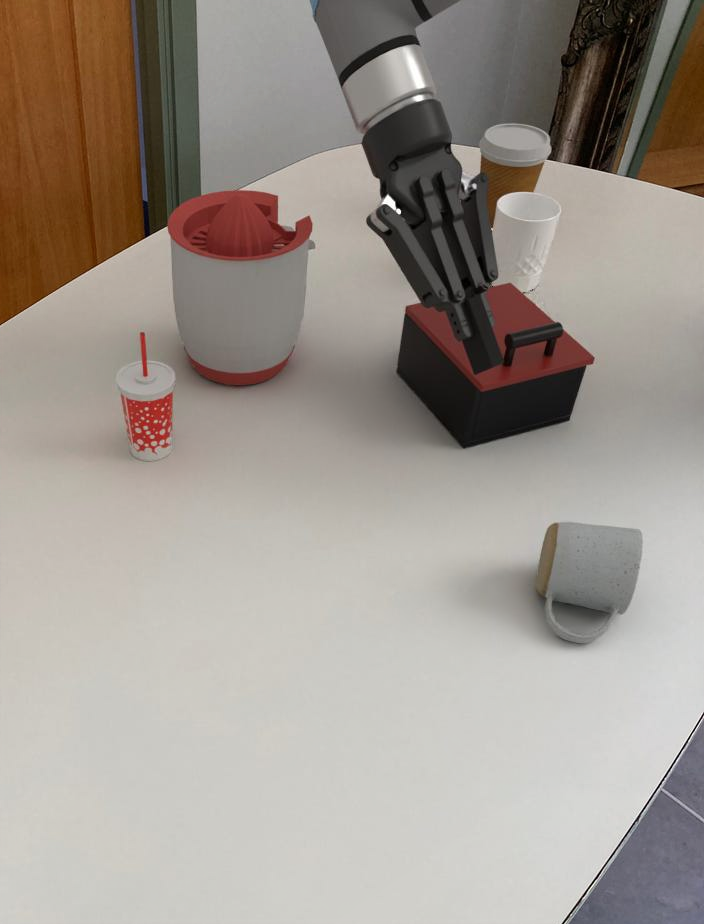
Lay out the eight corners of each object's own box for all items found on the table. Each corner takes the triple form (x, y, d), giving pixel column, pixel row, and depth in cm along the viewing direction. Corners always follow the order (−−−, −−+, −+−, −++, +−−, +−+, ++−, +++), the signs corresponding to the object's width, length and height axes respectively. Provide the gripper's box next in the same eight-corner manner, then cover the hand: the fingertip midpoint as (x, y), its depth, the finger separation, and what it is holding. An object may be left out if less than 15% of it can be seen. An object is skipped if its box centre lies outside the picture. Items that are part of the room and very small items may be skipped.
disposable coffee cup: (539, 215, 142) (560, 128, 133) (524, 245, 137) (545, 156, 128) (474, 203, 145) (490, 117, 136) (457, 232, 139) (472, 144, 130)
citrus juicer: (342, 364, 118) (358, 197, 103) (222, 414, 112) (221, 244, 96) (264, 307, 127) (269, 145, 111) (149, 351, 120) (137, 185, 105)
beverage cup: (190, 450, 107) (185, 335, 97) (144, 473, 105) (134, 358, 94) (156, 423, 111) (149, 310, 100) (111, 445, 108) (98, 330, 97)
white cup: (531, 302, 127) (550, 226, 119) (473, 286, 130) (487, 211, 122) (550, 275, 131) (569, 200, 124) (493, 260, 134) (509, 186, 127)
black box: (569, 420, 110) (588, 360, 105) (463, 449, 107) (476, 387, 101) (495, 348, 120) (509, 289, 114) (395, 372, 117) (404, 312, 111)
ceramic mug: (534, 558, 96) (553, 498, 90) (621, 573, 95) (647, 513, 89) (527, 639, 89) (547, 580, 83) (621, 656, 88) (648, 597, 82)
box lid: (593, 364, 104) (605, 326, 101) (481, 392, 101) (489, 354, 98) (509, 288, 114) (517, 252, 111) (404, 312, 111) (410, 275, 108)
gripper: (430, 122, 94) (514, 358, 98) (319, 154, 89) (412, 401, 93) (479, 79, 87) (568, 335, 91) (362, 112, 83) (460, 381, 86)
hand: (489, 368), depth 92 cm, fingers closed
